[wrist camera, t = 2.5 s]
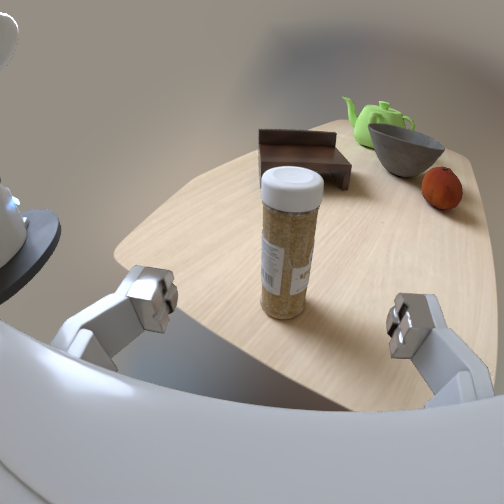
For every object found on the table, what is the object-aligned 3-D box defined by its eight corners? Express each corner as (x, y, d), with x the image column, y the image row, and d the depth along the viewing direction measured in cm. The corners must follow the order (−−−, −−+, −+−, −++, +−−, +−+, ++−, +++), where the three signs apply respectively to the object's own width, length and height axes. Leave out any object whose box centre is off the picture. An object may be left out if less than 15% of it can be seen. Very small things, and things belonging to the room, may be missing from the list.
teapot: (417, 159, 69) (425, 113, 60) (360, 152, 68) (366, 101, 59) (389, 140, 84) (394, 101, 75) (337, 134, 83) (341, 92, 74)
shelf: (260, 188, 49) (261, 144, 44) (258, 164, 58) (258, 128, 53) (348, 190, 49) (354, 149, 44) (331, 166, 58) (335, 132, 53)
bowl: (433, 200, 48) (445, 155, 41) (352, 171, 57) (357, 127, 51) (437, 176, 59) (445, 140, 53) (373, 153, 68) (378, 119, 62)
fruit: (414, 205, 45) (425, 165, 40) (420, 190, 51) (429, 156, 46) (455, 223, 41) (469, 184, 36) (456, 206, 46) (467, 171, 41)
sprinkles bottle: (309, 318, 26) (333, 187, 18) (262, 323, 26) (265, 189, 18) (299, 285, 30) (314, 163, 22) (256, 288, 29) (257, 164, 21)
